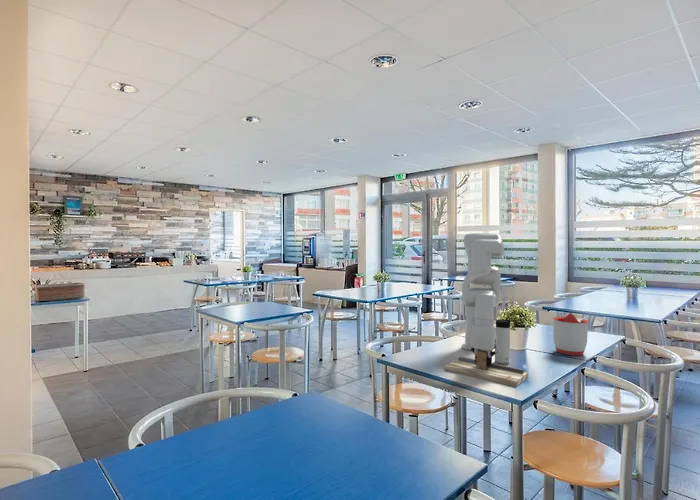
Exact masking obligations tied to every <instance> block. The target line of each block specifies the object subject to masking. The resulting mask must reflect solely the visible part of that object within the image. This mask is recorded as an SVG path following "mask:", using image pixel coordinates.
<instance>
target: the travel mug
mask: <svg viewBox="0 0 700 500" xmlns="http://www.w3.org/2000/svg"><path fill="white" fill-rule="evenodd" d="M511 322H512V320H511V319H508V318H507V319H496V320H495V329H496V336H497V345H498V347H499V349H500V352H499V353H496V354H495V355H494V364H498V365H503V366H508V365H509V364H510V348H511V347H510V345H511V344H510V343H511Z"/></svg>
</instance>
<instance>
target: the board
mask: <svg viewBox="0 0 700 500" xmlns="http://www.w3.org/2000/svg"><path fill="white" fill-rule="evenodd" d="M447 370H448V371H449V372H451V371H452V373H456V374H461V375H465V376H469V377H475V378H478V379H482V380H486V381H491V382H494V383H500V384H504V385H508V386H512V387H515V388H516V387H519V386H520V384H522V383H523V382H524V381H525V380H527V378H529V373H528V372H525V371H524V369H522V368H517V367H512V366H508V365H500V364H497V363H494V362H492V364H491V366H490V367H489V368H487V369H486V370H485V369H480V368H479V369H477V368H476V362H475V358H467V357H463V356H458V358H457V359H455V360H453V361H451V362H449V363H447V364H445V365H444V371H447Z"/></svg>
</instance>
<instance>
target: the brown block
mask: <svg viewBox="0 0 700 500" xmlns="http://www.w3.org/2000/svg"><path fill="white" fill-rule="evenodd" d="M487 357H488V354H487V351H486V350H481V349H480V350H478V351H477V354H476V368H477V369H479V368H480V369H485V370H486V369H487V368H489V367H490V366H489V367H487V366H486V365H487Z"/></svg>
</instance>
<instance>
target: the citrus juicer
mask: <svg viewBox="0 0 700 500" xmlns="http://www.w3.org/2000/svg"><path fill="white" fill-rule="evenodd" d="M552 319H553V344H554V348H555V351H556V352H557V353H558V352H559V354H562V355H566V354H567V356H571V355H575V356H583V354H584V353H585V352H586V347H587V344H588V333H589V332H588V330H589V324H588V323H589V320H588V319H585V318H583V319H581V320H580V321H578V319H577V317H576V316H574V314H573V313H569V314H567V315H565V316H554V317H553V318H552Z"/></svg>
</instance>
